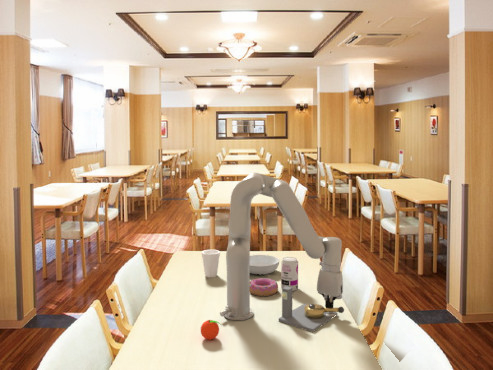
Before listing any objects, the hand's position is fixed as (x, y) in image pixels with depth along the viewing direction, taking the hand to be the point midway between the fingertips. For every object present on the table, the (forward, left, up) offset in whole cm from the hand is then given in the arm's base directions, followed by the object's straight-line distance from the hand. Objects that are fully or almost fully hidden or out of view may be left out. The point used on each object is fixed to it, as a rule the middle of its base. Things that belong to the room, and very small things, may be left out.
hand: (329, 309), depth 187 cm
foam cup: (+7, +74, -3) cm, 75 cm away
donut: (+5, +38, -3) cm, 39 cm away
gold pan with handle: (-4, 0, -1) cm, 4 cm away
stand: (-8, +5, -2) cm, 10 cm away
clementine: (-46, +24, -3) cm, 52 cm away
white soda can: (+16, +30, -3) cm, 34 cm away
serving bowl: (+28, +57, -3) cm, 64 cm away
